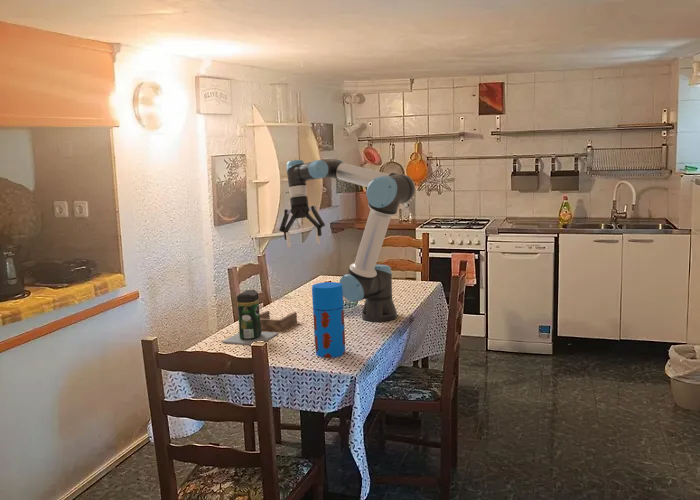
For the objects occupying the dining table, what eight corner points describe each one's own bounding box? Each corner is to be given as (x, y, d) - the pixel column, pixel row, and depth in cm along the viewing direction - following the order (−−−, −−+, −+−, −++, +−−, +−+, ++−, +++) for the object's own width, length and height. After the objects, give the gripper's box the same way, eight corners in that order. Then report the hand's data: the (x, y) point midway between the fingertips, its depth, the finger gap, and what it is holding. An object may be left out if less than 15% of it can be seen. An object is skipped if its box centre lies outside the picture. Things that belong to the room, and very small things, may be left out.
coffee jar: (244, 333, 271) (241, 288, 268) (263, 333, 269) (260, 288, 267) (236, 340, 261) (233, 293, 259) (256, 340, 260) (253, 293, 257)
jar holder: (297, 322, 287) (296, 312, 286) (281, 331, 274) (280, 320, 273) (267, 320, 292) (266, 310, 292) (250, 329, 279) (250, 318, 279)
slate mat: (278, 334, 270) (278, 332, 270) (258, 345, 255) (258, 344, 255) (243, 331, 276) (243, 330, 276) (222, 342, 261) (222, 341, 261)
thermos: (341, 358, 235) (338, 288, 231) (312, 357, 237) (308, 288, 234) (348, 348, 246) (344, 281, 242) (319, 348, 248) (316, 282, 244)
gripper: (328, 193, 289) (334, 242, 289) (275, 200, 296) (280, 248, 296) (322, 192, 281) (328, 242, 281) (268, 199, 289) (273, 248, 289)
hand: (304, 245), depth 289 cm, fingers open, 13 cm apart
